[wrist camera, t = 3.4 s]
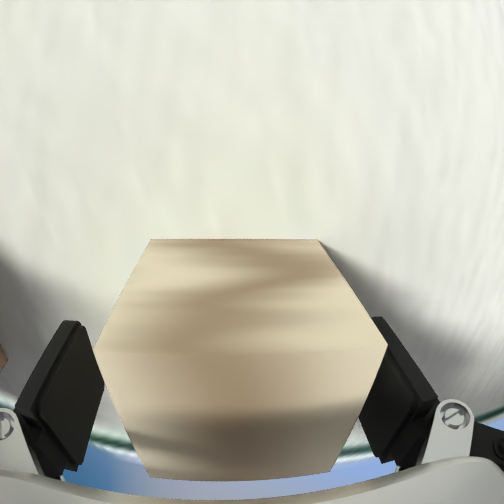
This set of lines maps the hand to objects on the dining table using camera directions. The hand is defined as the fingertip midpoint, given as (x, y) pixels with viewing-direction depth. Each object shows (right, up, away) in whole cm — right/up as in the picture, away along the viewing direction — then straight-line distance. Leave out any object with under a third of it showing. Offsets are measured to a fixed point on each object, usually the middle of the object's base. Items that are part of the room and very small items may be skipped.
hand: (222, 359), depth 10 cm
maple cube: (0, +1, +3) cm, 3 cm away
